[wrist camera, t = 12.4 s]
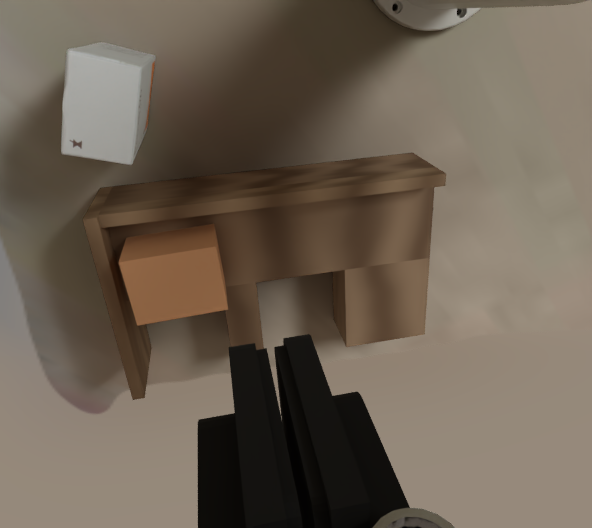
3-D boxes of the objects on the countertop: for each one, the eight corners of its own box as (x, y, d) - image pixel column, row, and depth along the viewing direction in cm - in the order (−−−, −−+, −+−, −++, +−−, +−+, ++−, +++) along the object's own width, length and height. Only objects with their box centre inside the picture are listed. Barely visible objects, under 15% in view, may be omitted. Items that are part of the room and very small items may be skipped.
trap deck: (412, 152, 46) (449, 175, 39) (405, 308, 54) (435, 349, 47) (100, 187, 42) (82, 219, 36) (141, 349, 50) (132, 399, 43)
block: (214, 223, 40) (215, 246, 36) (225, 282, 43) (228, 309, 39) (126, 237, 39) (118, 262, 35) (142, 296, 42) (137, 325, 38)
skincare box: (149, 130, 41) (132, 169, 30) (94, 119, 40) (57, 156, 29) (158, 52, 39) (143, 66, 28) (100, 38, 37) (62, 47, 27)
